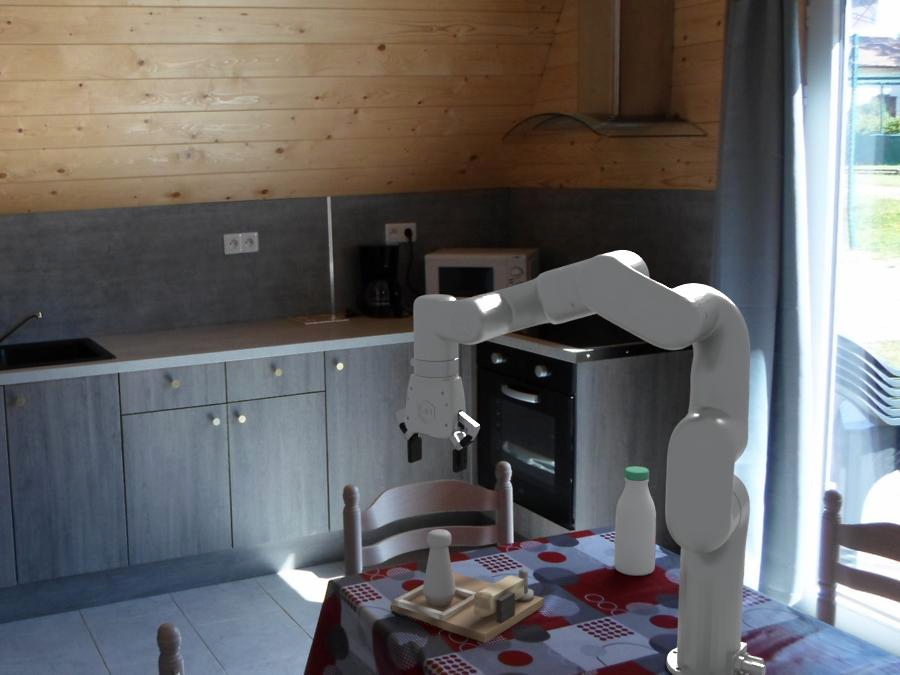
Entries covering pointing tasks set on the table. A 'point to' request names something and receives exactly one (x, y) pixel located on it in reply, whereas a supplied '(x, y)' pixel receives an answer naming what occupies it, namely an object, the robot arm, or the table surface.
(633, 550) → the milk bottle
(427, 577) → the salt shaker
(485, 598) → the leg
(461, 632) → the wooden activity board
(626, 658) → the table surface
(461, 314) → the robot arm
